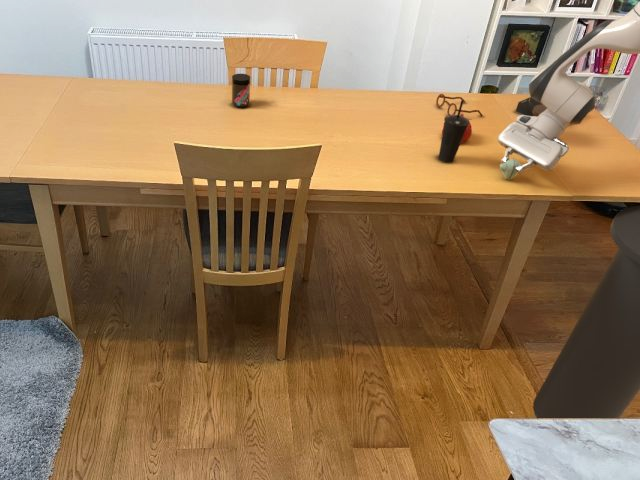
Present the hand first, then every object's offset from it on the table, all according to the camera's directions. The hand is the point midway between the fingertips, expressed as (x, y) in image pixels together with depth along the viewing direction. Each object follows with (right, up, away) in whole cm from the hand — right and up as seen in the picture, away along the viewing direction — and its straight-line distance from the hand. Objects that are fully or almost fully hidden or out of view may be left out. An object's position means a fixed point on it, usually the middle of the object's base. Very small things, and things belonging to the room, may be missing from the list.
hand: (510, 167), depth 180 cm
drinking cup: (-16, +5, +12) cm, 20 cm away
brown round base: (+22, +15, +26) cm, 37 cm away
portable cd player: (+32, +28, +41) cm, 59 cm away
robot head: (0, -3, +3) cm, 5 cm away
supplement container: (-84, +31, +38) cm, 97 cm away
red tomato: (-10, +14, +23) cm, 29 cm away
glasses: (-2, +30, +41) cm, 51 cm away
